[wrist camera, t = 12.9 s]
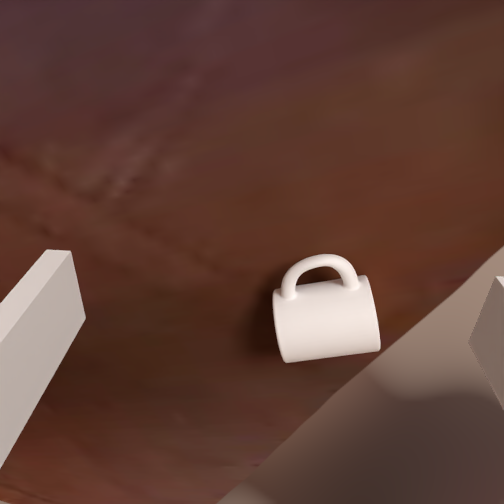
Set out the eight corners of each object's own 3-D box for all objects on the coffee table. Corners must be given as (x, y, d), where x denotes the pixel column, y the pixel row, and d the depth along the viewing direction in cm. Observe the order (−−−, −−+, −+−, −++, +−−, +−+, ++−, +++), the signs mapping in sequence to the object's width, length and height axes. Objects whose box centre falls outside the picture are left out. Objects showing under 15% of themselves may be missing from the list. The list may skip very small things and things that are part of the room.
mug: (369, 316, 51) (383, 367, 44) (286, 327, 53) (287, 379, 46) (358, 228, 45) (372, 272, 38) (264, 245, 47) (262, 290, 40)
